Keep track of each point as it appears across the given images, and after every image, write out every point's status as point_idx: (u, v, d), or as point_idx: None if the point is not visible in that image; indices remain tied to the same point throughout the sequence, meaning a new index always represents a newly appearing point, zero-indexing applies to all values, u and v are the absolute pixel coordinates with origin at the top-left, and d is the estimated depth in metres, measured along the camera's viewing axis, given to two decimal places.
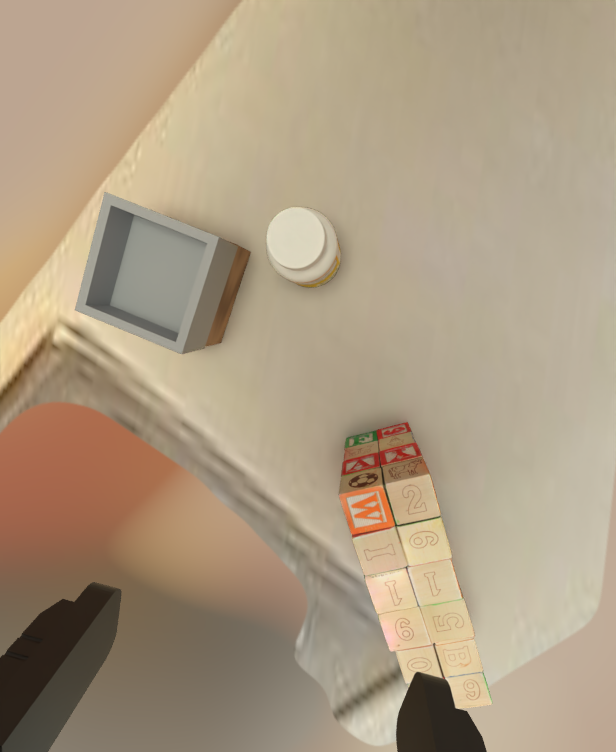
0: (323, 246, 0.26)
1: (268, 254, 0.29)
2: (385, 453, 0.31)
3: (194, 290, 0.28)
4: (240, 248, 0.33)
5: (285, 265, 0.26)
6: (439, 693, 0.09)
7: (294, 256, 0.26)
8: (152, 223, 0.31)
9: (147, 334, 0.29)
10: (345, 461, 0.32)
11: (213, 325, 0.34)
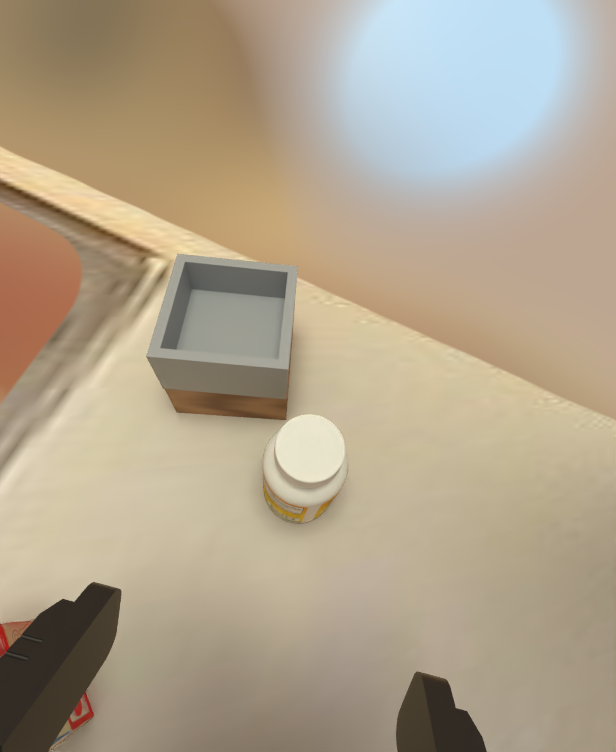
0: (311, 482, 0.21)
1: None
2: None
3: (224, 356, 0.25)
4: (285, 404, 0.30)
5: (276, 444, 0.22)
6: (439, 693, 0.09)
7: (289, 452, 0.21)
8: (283, 314, 0.31)
9: (163, 319, 0.26)
10: None
11: (193, 394, 0.29)
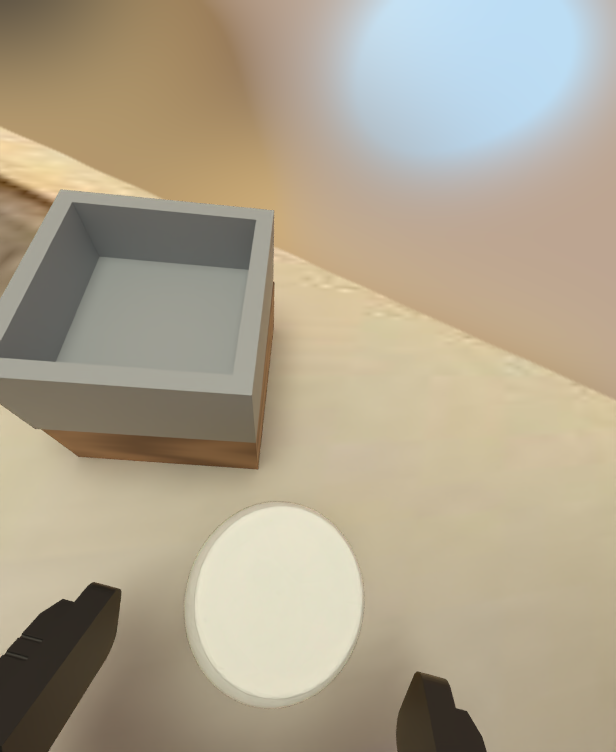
0: (279, 697, 0.08)
1: (235, 516, 0.12)
2: None
3: (123, 371, 0.13)
4: (253, 449, 0.17)
5: (199, 586, 0.09)
6: (439, 693, 0.09)
7: (228, 609, 0.09)
8: None
9: (12, 301, 0.14)
10: None
11: (90, 433, 0.17)
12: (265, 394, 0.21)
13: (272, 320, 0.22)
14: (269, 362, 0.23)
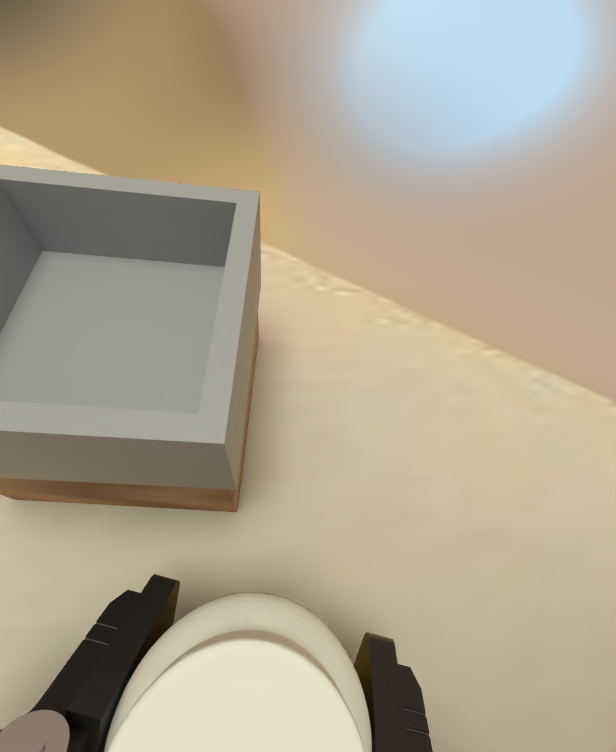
0: None
1: (185, 624, 0.08)
2: None
3: (41, 410, 0.09)
4: (227, 495, 0.14)
5: None
6: (383, 650, 0.10)
7: None
8: None
9: None
10: None
11: (14, 479, 0.13)
12: (247, 418, 0.18)
13: None
14: None
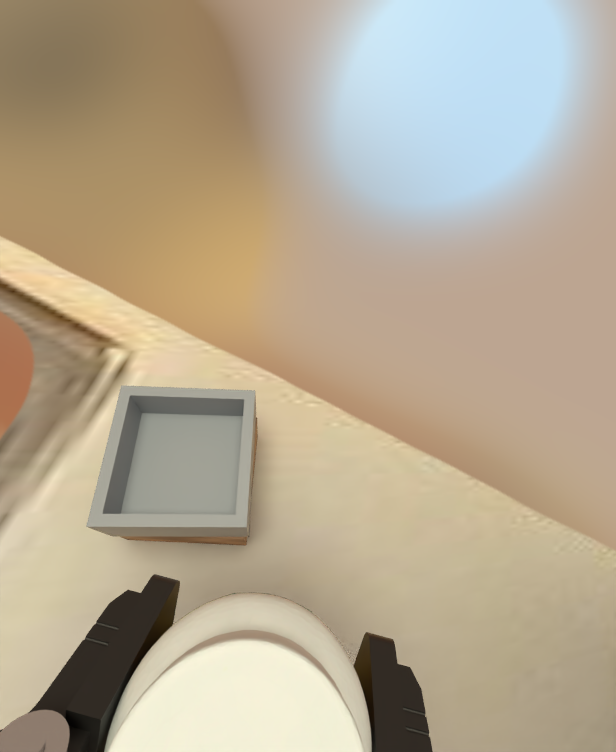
0: None
1: (185, 624, 0.08)
2: None
3: (175, 517, 0.23)
4: (242, 540, 0.28)
5: None
6: (383, 650, 0.10)
7: None
8: None
9: (106, 474, 0.24)
10: None
11: None
12: None
13: None
14: (254, 464, 0.33)
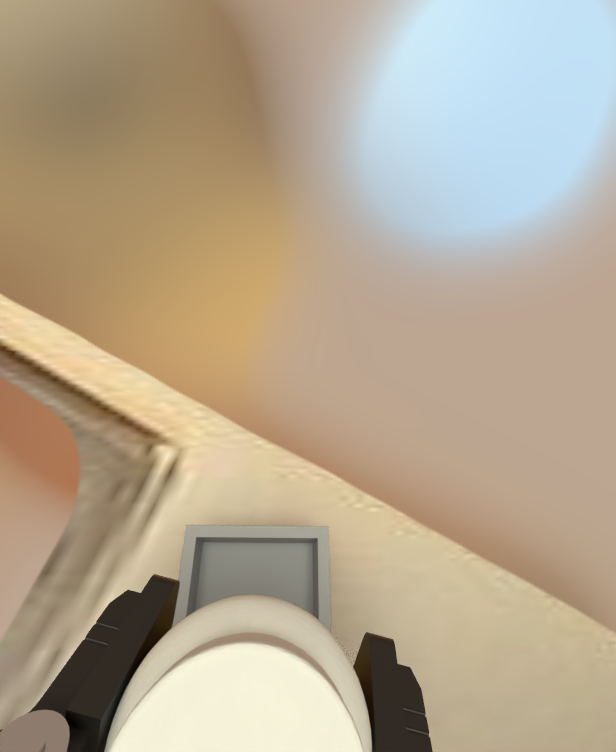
0: None
1: (185, 626, 0.08)
2: None
3: None
4: None
5: None
6: (383, 650, 0.10)
7: None
8: (311, 569, 0.27)
9: None
10: None
11: None
12: None
13: None
14: None
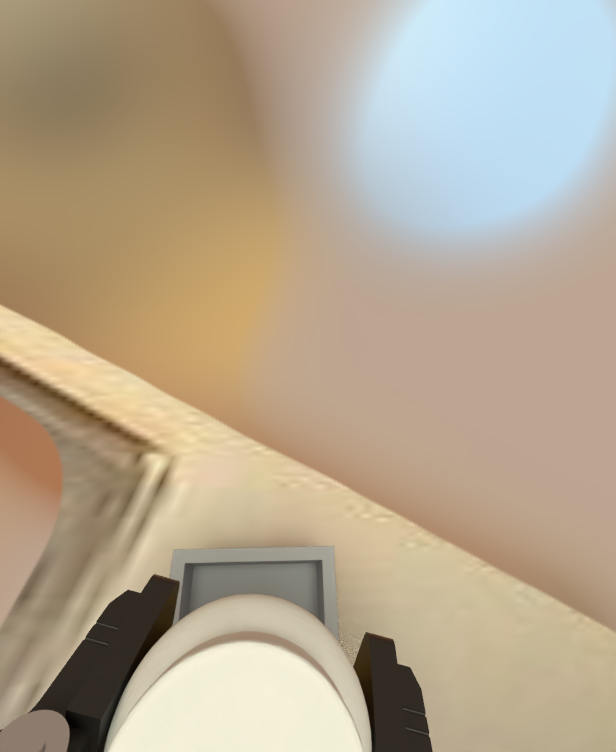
0: None
1: (184, 625, 0.08)
2: None
3: None
4: None
5: None
6: (383, 650, 0.10)
7: None
8: (315, 592, 0.24)
9: None
10: None
11: None
12: None
13: None
14: None
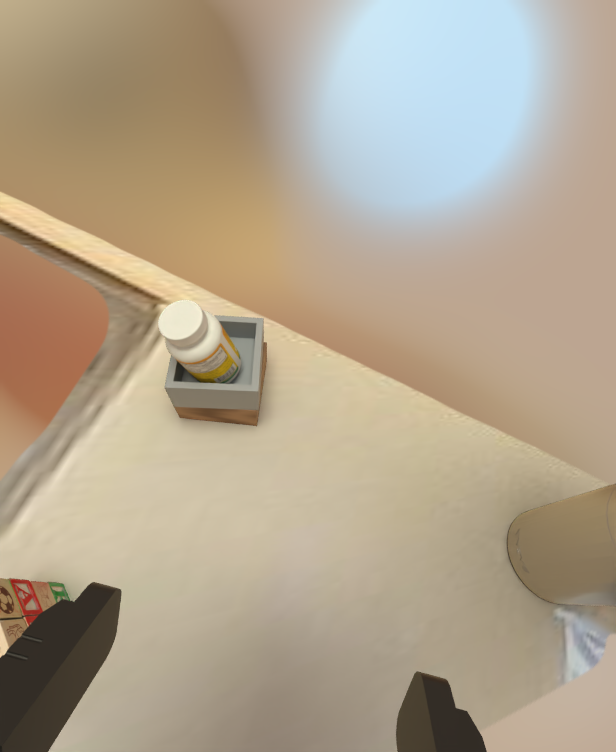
0: (200, 324, 0.33)
1: (165, 340, 0.36)
2: None
3: (215, 384, 0.38)
4: (255, 415, 0.43)
5: (169, 337, 0.33)
6: (439, 693, 0.09)
7: (177, 331, 0.33)
8: None
9: (174, 361, 0.39)
10: (29, 582, 0.31)
11: None
12: (261, 393, 0.47)
13: (265, 358, 0.48)
14: (263, 378, 0.49)
